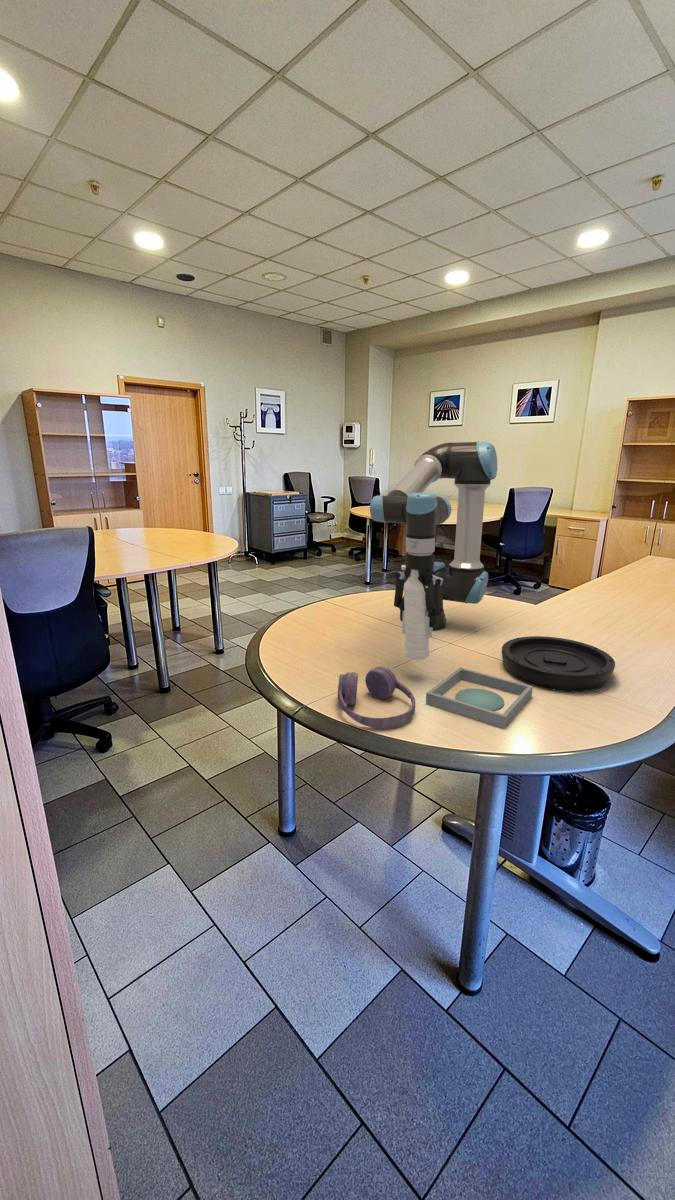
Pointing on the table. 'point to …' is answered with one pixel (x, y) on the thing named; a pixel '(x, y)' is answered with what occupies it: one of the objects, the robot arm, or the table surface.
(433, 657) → the table surface
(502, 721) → the teal-dotted square tray
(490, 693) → the teal round pad
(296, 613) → the table surface
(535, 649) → the round tray
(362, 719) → the headphones
